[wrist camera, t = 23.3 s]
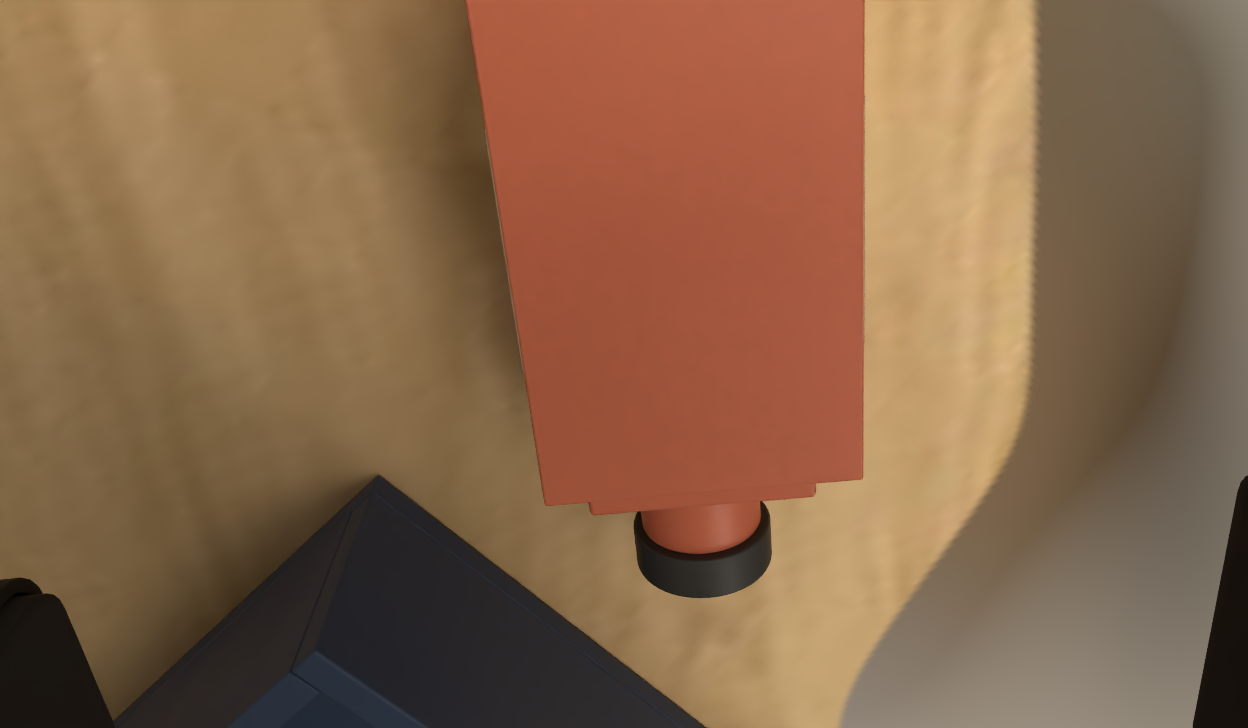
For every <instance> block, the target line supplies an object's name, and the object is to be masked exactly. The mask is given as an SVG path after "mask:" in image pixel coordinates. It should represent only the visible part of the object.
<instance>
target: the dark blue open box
mask: <svg viewBox="0 0 1248 728" xmlns="http://www.w3.org/2000/svg"><path fill="white" fill-rule="evenodd" d="M113 723H114V725H115V727H116V728H705V727H704V726H703V725H701V724H700V723H699V722H697V721H696V720H695V719H694V718H692V717H691V716H690V715H688V714H687V713H686V712H685V711H683V710H682V709H681V708H679V707H678V706H677V705H675V704H674V703H673V702H672V701H670V700H669V699H668V698H666V697H665V696H664V695H663V694H661V693H660V692H659V691H657V690H656V689H655V688H653V687H652V686H651V685H650V684H648V683H647V682H646V681H644V680H643V679H642V678H641V677H639V676H638V675H637V674H635V673H634V672H633V671H631V670H630V669H629V668H628V667H626V666H625V665H624V664H622V663H621V662H620V661H619V660H617V659H616V658H615V657H613V656H612V655H611V654H609V653H608V652H607V651H606V650H604V649H603V648H602V647H600V646H599V645H598V644H597V643H595V642H594V641H593V640H591V639H590V638H589V637H587V636H586V635H585V634H584V633H582V632H581V631H580V630H578V629H577V628H576V627H575V626H573V625H572V624H571V623H569V622H568V621H567V620H565V619H564V618H563V617H562V616H560V615H559V614H558V613H556V612H555V611H554V610H553V609H551V608H550V607H549V606H547V605H546V604H545V603H544V602H542V601H541V600H540V599H538V598H537V597H536V596H534V595H533V594H532V593H531V592H529V591H528V590H527V589H525V588H524V587H523V586H522V585H520V584H519V583H518V582H516V581H515V580H514V579H512V578H511V577H510V576H509V575H507V574H506V573H505V572H503V571H502V570H501V569H500V568H498V567H497V566H496V565H494V564H493V563H492V562H490V561H489V560H488V559H487V558H485V557H484V556H483V555H481V554H480V553H479V552H478V551H476V550H475V549H474V548H472V547H471V546H470V545H468V544H467V543H466V542H465V541H463V540H462V539H461V538H459V537H458V536H457V535H456V534H454V533H453V532H452V531H450V530H449V529H448V528H446V527H445V526H444V525H443V524H441V523H440V522H439V521H437V520H436V519H435V518H434V517H432V516H431V515H430V514H428V513H427V512H426V511H424V510H423V509H422V508H421V507H419V506H418V505H417V504H415V503H414V502H413V501H412V500H410V499H409V498H408V497H406V496H405V495H404V494H402V493H401V492H400V491H399V490H397V489H396V488H395V487H393V486H392V485H391V484H390V483H388V482H387V481H386V480H384V479H383V478H382V477H380V476H377V477H376V478H375V479H373V480H372V481H371V482H370V483H369V484H368V485H367V486H366V487H365V488H364V489H363V490H362V491H361V492H360V493H358V494H357V495H356V496H355V497H354V498H353V499H352V500H351V501H350V502H349V503H348V504H347V505H346V506H344V507H343V508H342V509H341V510H340V511H339V512H338V513H337V514H336V515H335V516H334V517H333V518H332V519H331V520H329V521H328V522H327V523H326V524H325V525H324V526H323V527H322V528H321V529H320V530H319V531H318V532H317V533H315V534H314V535H313V536H312V537H311V538H310V539H309V540H308V541H307V542H306V543H305V544H304V545H303V546H301V547H300V548H299V549H298V550H297V551H296V552H295V553H294V554H293V555H292V556H291V557H290V558H289V559H288V560H286V561H285V562H284V563H283V564H282V565H281V566H280V567H279V568H278V569H277V570H276V571H275V572H274V573H272V574H271V575H270V576H269V577H268V578H267V579H266V580H265V581H264V582H263V583H262V584H261V585H260V586H259V587H257V588H256V589H255V590H254V591H253V592H252V593H251V594H250V595H249V596H248V597H247V598H246V599H245V600H243V601H242V602H241V603H240V604H239V605H238V606H237V607H236V608H235V609H234V610H233V611H232V612H231V613H229V614H228V615H227V616H226V617H225V618H224V619H223V620H222V621H221V622H220V623H219V624H218V625H217V626H216V627H214V628H213V629H212V630H211V631H210V632H209V633H208V634H207V635H206V636H205V637H204V638H203V639H202V640H200V641H199V642H198V643H197V644H196V645H195V646H194V647H193V648H192V649H191V650H190V651H189V652H188V653H187V654H185V655H184V656H183V657H182V658H181V659H180V660H179V661H178V662H177V663H176V664H175V665H174V666H173V667H171V668H170V669H169V670H168V671H167V672H166V673H165V674H164V675H163V676H162V677H161V678H160V679H159V680H157V681H156V682H155V683H154V684H153V685H152V686H151V687H150V688H149V689H148V690H147V691H146V692H145V693H144V694H142V695H141V696H140V697H139V698H138V699H137V700H136V701H135V702H134V703H133V704H132V705H131V706H130V707H128V708H127V709H126V710H125V711H124V712H123V713H122V714H121V715H120V716H119V717H118V718H117V719H116V720H115V721H113Z"/></svg>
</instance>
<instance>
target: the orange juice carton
mask: <svg viewBox="0 0 1248 728" xmlns="http://www.w3.org/2000/svg"><path fill="white" fill-rule="evenodd" d="M465 3H466V9H467V15H468V22H469V28H470V34H471V41H472V47H473V53H474V60H475V66H476V72H477V79H478V85H479V91H480V98H481V104H482V110H483V117H484V123H485V129H486V132H485V136H486V143H487V149H488V155H489V162H490V168H491V174H492V181H493V187H494V193H495V200H496V206H497V212H498V218H499V225H500V231H501V237H502V244H503V250H504V256H505V263H506V269H507V275H508V282H509V288H510V294H511V301H512V307H513V313H514V320H515V326H516V332H517V338H518V345H519V351H520V357H521V364H522V370H523V374H524V376H525V383H526V389H527V395H528V402H529V408H530V414H531V421H532V427H533V433H534V440H535V446H536V452H537V459H538V465H539V471H540V478H541V484H542V490H543V497H544V503H545V505H546V506H554V505H566V504H577V503H589V508H590V512H591V513H592V515H603V514H615V513H626V512H637V514H636V516H635V520H634V535H635V544H636V552H637V561H638V566H639V569H640V571H641V572H642V574H643V575H644V577H645V578H646V579H647V580H648V581H649V582H650V583H651V584H653V585H654V586H656V587H657V588H659V589H661V590H663V591H665V592H668V593H671V594H674V595H678V596H683V597H691V598H710V597H718V596H723V595H727V594H731V593H734V592H737V591H739V590H742V589H744V588H746V587H747V586H749V585H751V584H752V583H754V582H755V581H757V580H758V579H759V578H760V577H761V576H762V575H763V573H764V572H765V571H766V569H767V567H768V566H769V563H770V560H771V555H772V549H771V526H770V515H769V512H768V509H767V507H766V506H765V504H764V503H763V502H762V501H769V500H781V499H793V498H805V497H812V496H814V495H815V492H816V483H825V482H837V481H849V480H861V479H862V478H863V351H864V265H865V95H864V0H465Z"/></svg>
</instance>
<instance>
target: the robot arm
mask: <svg viewBox="0 0 1248 728" xmlns="http://www.w3.org/2000/svg"><path fill="white" fill-rule="evenodd" d="M0 728H116V727H115V725H114V723H113V720H112V718H111V716H110V713H109V711H108V709H107V706H106V704H105V702H104V699H103V697H102V694H101V692H100V690H99V687H98V685H97V683H96V680H95V678H94V676H93V673H92V671H91V669H90V666H89V664H88V661H87V659H86V657H85V654H84V652H83V650H82V647H81V645H80V643H79V640H78V638H77V636H76V633H75V631H74V628H73V626H72V624H71V621H70V619H69V617H68V614H67V612H66V610H65V608H64V606H63V604H62V602H61V601H60V600H59V599H58V598H57V597H56V596H55V595H52V594H43V593H42V591H41V590H40V588H39V586H37V585H36V584H35V583H34V582H32V581H31V580H29V579H25V578H12V579H2V580H0ZM1193 728H1248V476H1246V477H1245V478H1244V479H1243V480H1242V482H1241V483H1240V486H1239V489H1238V492H1237V497H1236V503H1235V508H1234V513H1233V518H1232V524H1231V529H1230V534H1229V539H1228V544H1227V549H1226V555H1225V560H1224V565H1223V571H1222V575H1221V581H1220V586H1219V591H1218V597H1217V601H1216V607H1215V612H1214V617H1213V622H1212V627H1211V633H1210V638H1209V643H1208V648H1207V653H1206V659H1205V664H1204V669H1203V674H1202V680H1201V685H1200V690H1199V695H1198V700H1197V706H1196V711H1195V716H1194V721H1193Z"/></svg>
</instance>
